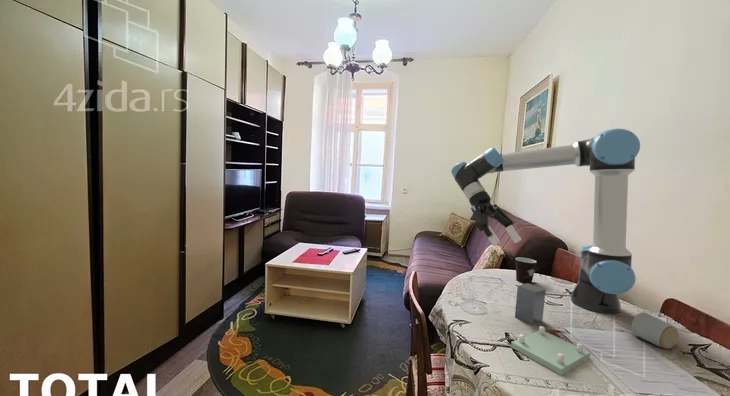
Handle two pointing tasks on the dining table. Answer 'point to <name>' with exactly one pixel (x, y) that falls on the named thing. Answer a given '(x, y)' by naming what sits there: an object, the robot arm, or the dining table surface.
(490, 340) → the dining table surface
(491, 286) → the dining table surface
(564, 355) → the pin plate
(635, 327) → the grey cylinder
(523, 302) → the block
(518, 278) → the coffee mug
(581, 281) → the robot arm
